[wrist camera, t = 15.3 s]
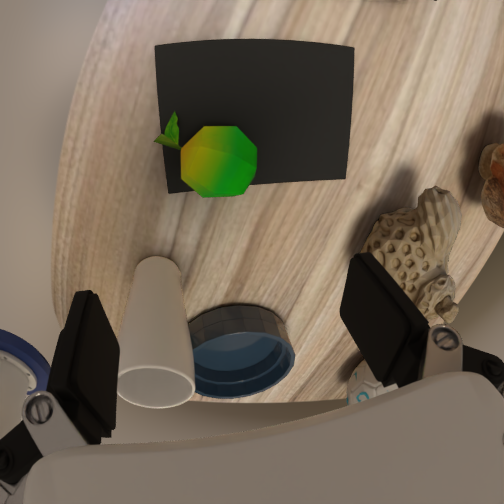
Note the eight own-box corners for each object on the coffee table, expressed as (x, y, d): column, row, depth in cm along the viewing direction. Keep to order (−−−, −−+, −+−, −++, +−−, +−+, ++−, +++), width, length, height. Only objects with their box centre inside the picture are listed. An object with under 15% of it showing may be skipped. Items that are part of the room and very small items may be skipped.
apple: (270, 194, 22) (148, 153, 19) (234, 222, 28) (136, 193, 24) (277, 123, 24) (176, 83, 21) (244, 158, 30) (158, 128, 26)
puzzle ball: (371, 382, 61) (398, 437, 48) (320, 383, 55) (346, 449, 43) (416, 336, 54) (453, 393, 42) (367, 331, 48) (408, 402, 36)
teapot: (367, 156, 31) (464, 224, 18) (437, 171, 33) (524, 231, 21) (322, 306, 42) (366, 395, 30) (386, 300, 45) (436, 374, 32)
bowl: (188, 377, 45) (190, 404, 41) (168, 311, 37) (168, 341, 33) (281, 363, 48) (290, 388, 44) (288, 294, 39) (300, 322, 35)
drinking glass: (143, 237, 31) (128, 354, 19) (198, 264, 34) (213, 380, 22) (119, 282, 33) (101, 396, 21) (170, 303, 36) (174, 415, 24)
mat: (168, 191, 29) (168, 194, 28) (155, 46, 21) (154, 45, 20) (343, 177, 31) (345, 179, 31) (351, 47, 24) (354, 47, 23)
